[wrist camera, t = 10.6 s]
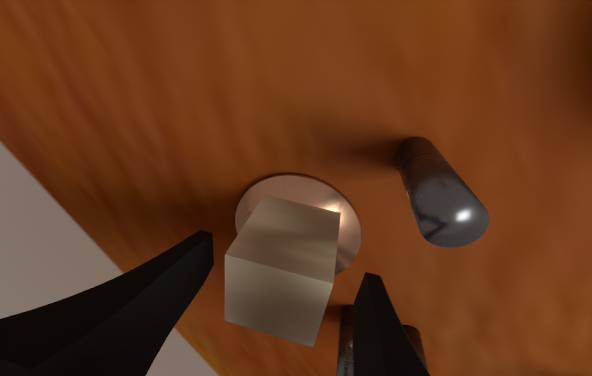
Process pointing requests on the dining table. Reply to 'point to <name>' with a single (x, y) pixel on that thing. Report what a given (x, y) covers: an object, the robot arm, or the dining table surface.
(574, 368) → the dining table surface
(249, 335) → the dining table surface
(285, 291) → the block
